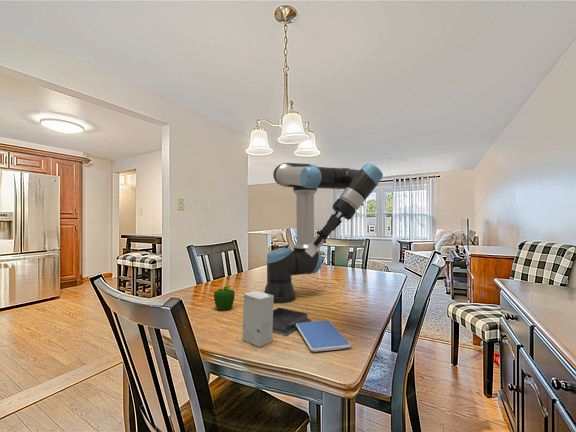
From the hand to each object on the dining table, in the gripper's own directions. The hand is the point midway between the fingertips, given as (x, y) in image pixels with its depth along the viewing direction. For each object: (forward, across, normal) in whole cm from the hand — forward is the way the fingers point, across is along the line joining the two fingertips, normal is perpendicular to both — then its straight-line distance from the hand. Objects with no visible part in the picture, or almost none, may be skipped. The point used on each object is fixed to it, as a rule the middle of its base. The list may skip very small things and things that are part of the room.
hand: (308, 254), depth 97 cm
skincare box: (+31, -2, -4) cm, 32 cm away
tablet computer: (+18, +1, -19) cm, 27 cm away
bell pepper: (+40, +28, +15) cm, 52 cm away
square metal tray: (+26, +13, -7) cm, 30 cm away
